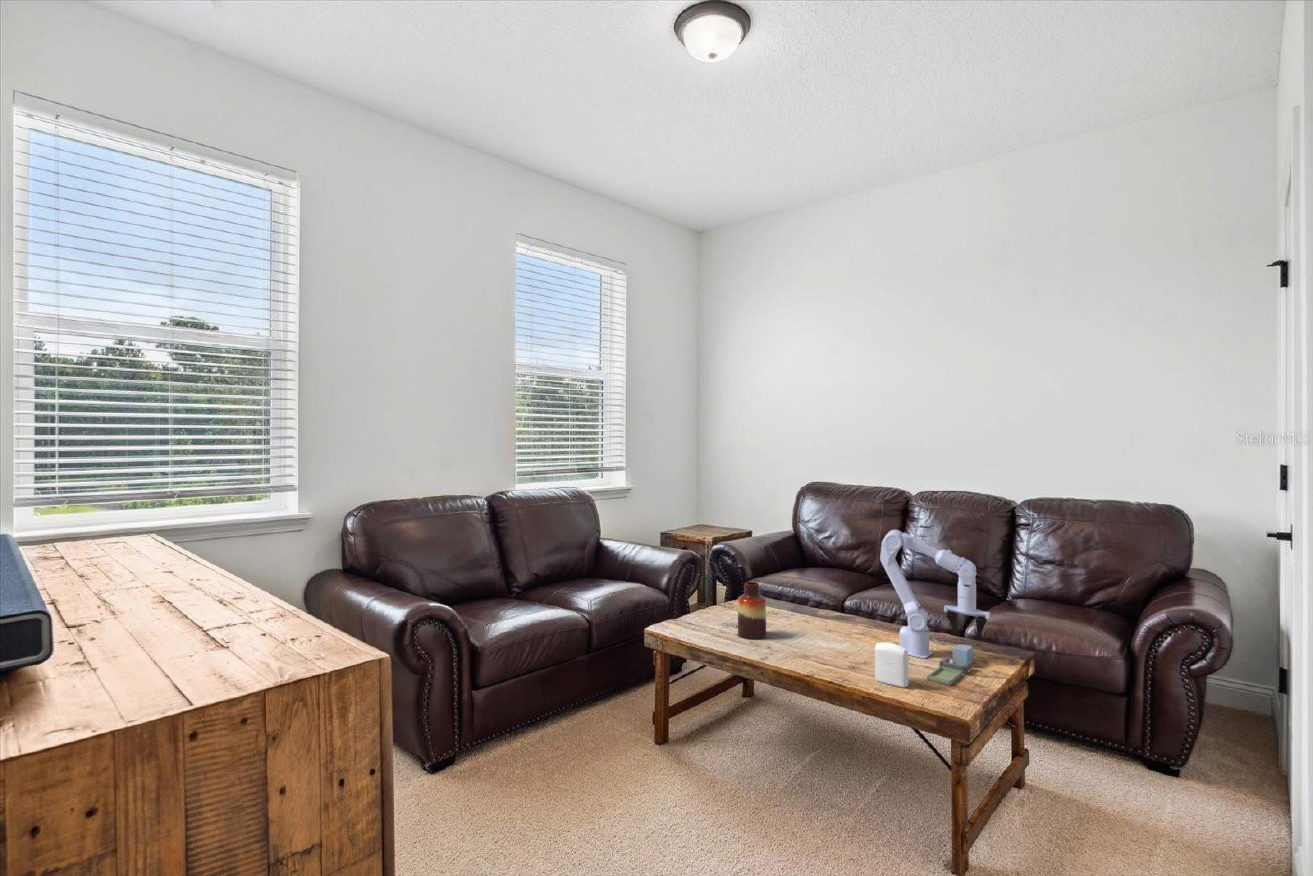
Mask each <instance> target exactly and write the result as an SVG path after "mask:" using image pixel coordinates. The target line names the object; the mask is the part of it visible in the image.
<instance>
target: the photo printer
mask: <svg viewBox="0 0 1313 876" xmlns="http://www.w3.org/2000/svg"><path fill="white" fill-rule="evenodd" d="M874 679H875V681H876V682H880V683H884V684H888V685H891V686H896V687H900V688H903V689H904V688H908V687H909V655H908V651H907V649H905V648H904V647H902V646H899V644H897V643H893V642H885V641H884V642H877V643H876V644H875V647H874Z"/></svg>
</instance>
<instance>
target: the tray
mask: <svg viewBox="0 0 1313 876" xmlns="http://www.w3.org/2000/svg"><path fill="white" fill-rule="evenodd" d="M962 676H963V674H962V671H960V670H956V669H951V668H947V667H942V666H940V665H939V666H938V667H937V668H935V669H934V670H932V671H931V672H930V673H928V674H927V676H926V681H929V682H933V683H936V682H938V683H937V684H941V685H945V686H950V687H951V686H952V685H953V684H954V683H956V682H957V681H958V680H959V679H961V677H962ZM958 678H959V679H958ZM957 679H958V680H957ZM956 680H957V681H956ZM953 682H954V683H953Z"/></svg>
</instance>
